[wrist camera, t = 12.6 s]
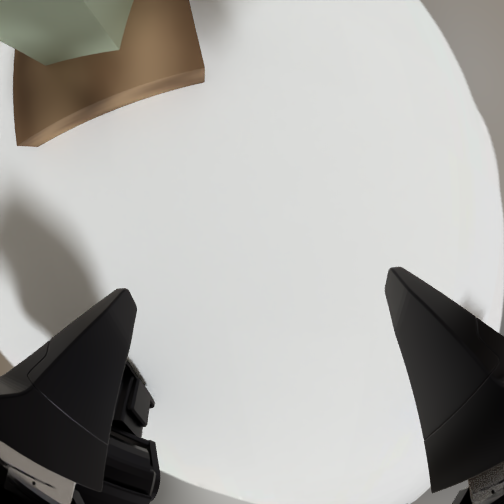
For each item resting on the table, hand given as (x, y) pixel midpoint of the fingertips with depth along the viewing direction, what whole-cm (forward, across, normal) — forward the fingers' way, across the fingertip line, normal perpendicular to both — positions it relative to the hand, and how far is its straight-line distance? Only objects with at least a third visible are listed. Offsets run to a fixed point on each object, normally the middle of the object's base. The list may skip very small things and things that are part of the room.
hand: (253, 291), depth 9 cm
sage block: (+10, +10, -15) cm, 20 cm away
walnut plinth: (+13, +10, -14) cm, 22 cm away
